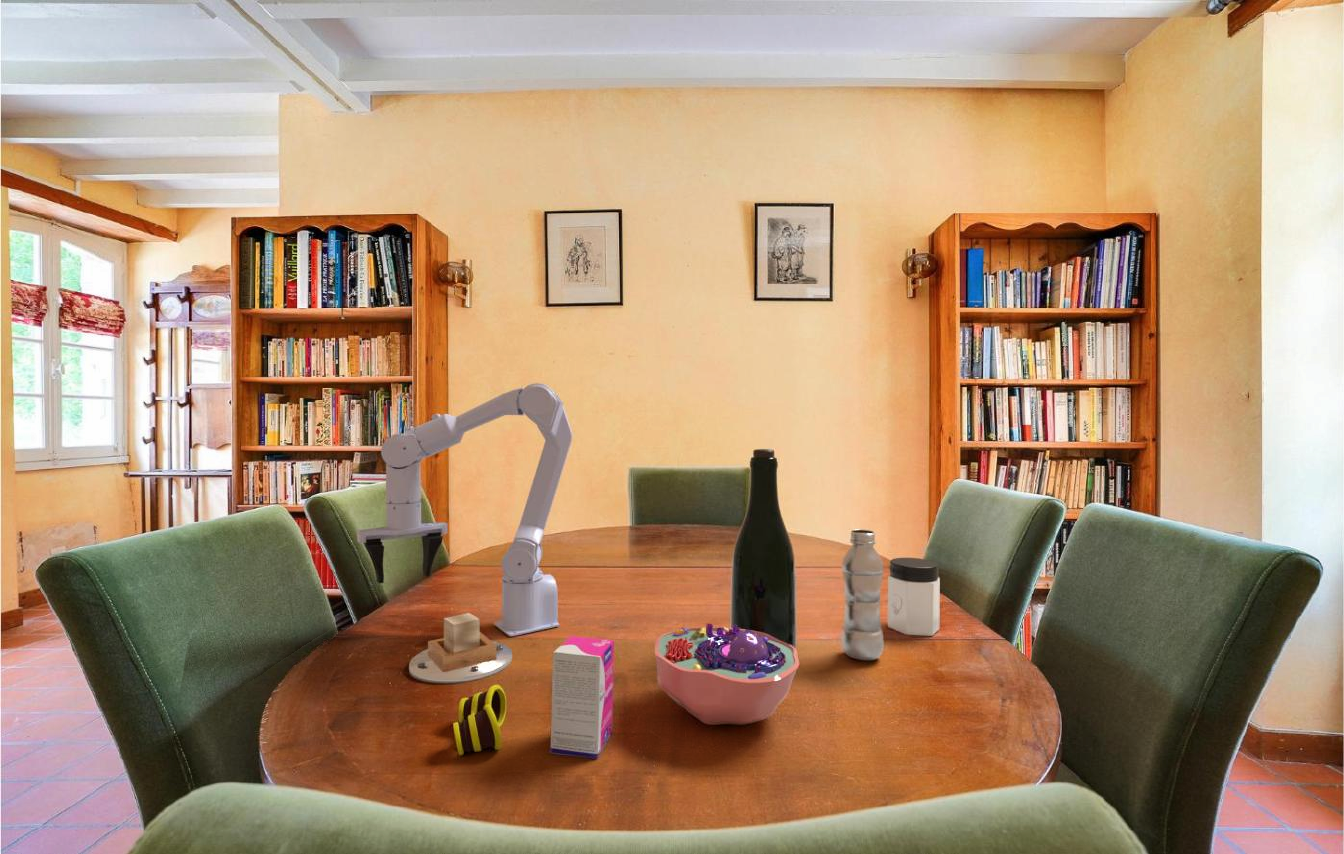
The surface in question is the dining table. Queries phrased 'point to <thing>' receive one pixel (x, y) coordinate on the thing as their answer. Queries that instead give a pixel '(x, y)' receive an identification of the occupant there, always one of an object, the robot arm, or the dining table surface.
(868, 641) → the plastic bottle
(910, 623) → the jar
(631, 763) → the dining table surface
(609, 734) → the supplement box
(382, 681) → the dining table surface
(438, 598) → the dining table surface
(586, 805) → the dining table surface
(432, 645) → the tray on oval base
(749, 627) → the wine bottle
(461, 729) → the opera glasses
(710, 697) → the cell model
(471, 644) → the beige wooden block
